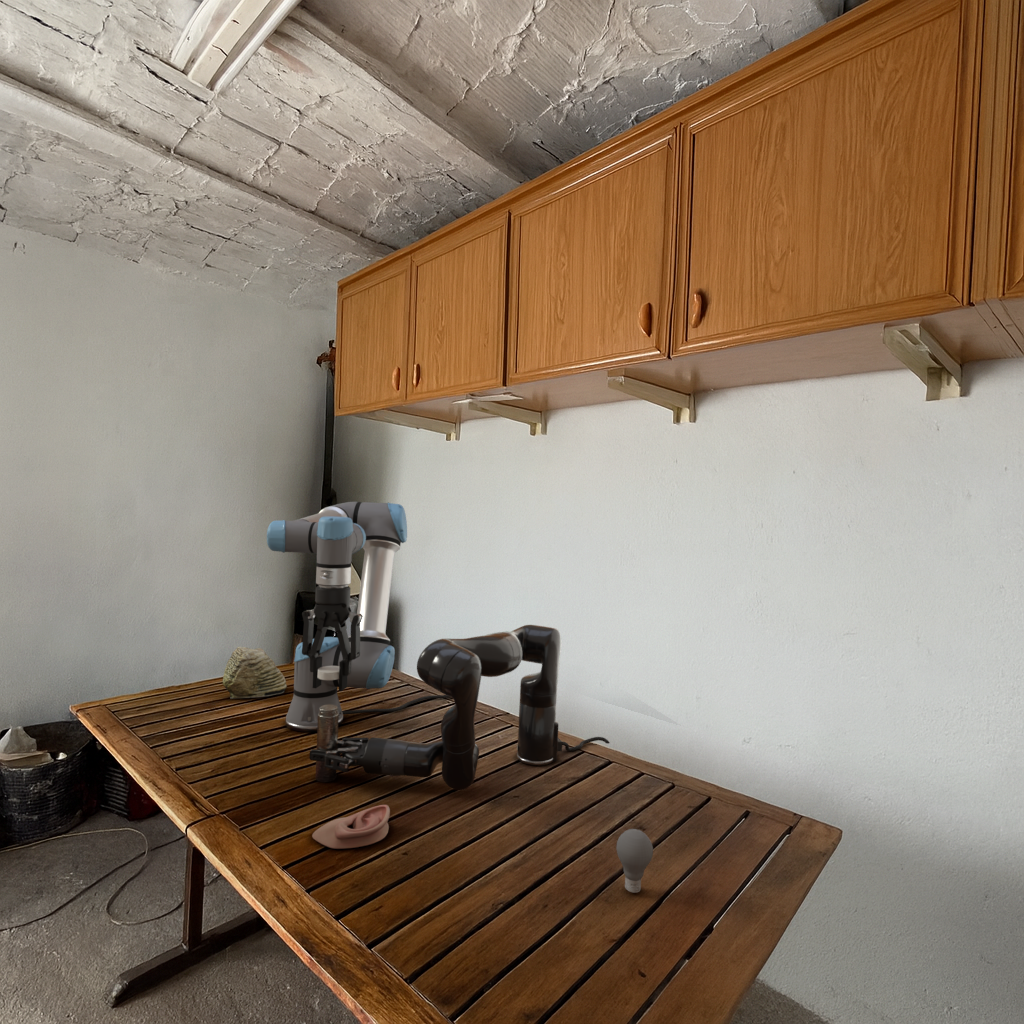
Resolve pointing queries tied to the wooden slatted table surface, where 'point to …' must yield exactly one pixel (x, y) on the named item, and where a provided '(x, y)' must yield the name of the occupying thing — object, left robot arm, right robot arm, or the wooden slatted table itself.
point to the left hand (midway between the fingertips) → (329, 687)
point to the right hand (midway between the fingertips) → (315, 750)
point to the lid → (328, 673)
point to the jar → (327, 739)
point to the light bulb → (634, 857)
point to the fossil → (252, 674)
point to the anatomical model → (355, 829)
